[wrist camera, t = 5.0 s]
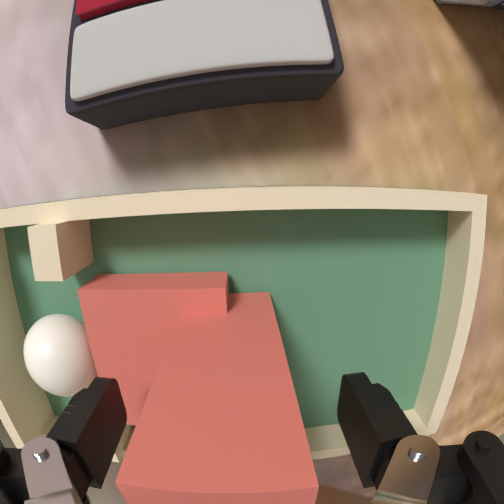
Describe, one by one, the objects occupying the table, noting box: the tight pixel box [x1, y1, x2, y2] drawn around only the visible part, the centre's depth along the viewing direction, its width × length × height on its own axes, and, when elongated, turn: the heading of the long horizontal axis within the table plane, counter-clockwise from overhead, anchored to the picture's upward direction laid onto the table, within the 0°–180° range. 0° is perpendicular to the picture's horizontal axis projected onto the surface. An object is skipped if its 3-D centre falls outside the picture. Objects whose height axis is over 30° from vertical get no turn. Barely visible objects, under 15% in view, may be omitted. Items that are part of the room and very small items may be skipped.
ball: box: [23, 314, 98, 397], centre depth 12 cm, size 4×4×4 cm
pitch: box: [0, 186, 487, 462], centre depth 13 cm, size 25×14×5 cm, turn 92°
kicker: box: [78, 271, 319, 504], centre depth 9 cm, size 8×7×10 cm
